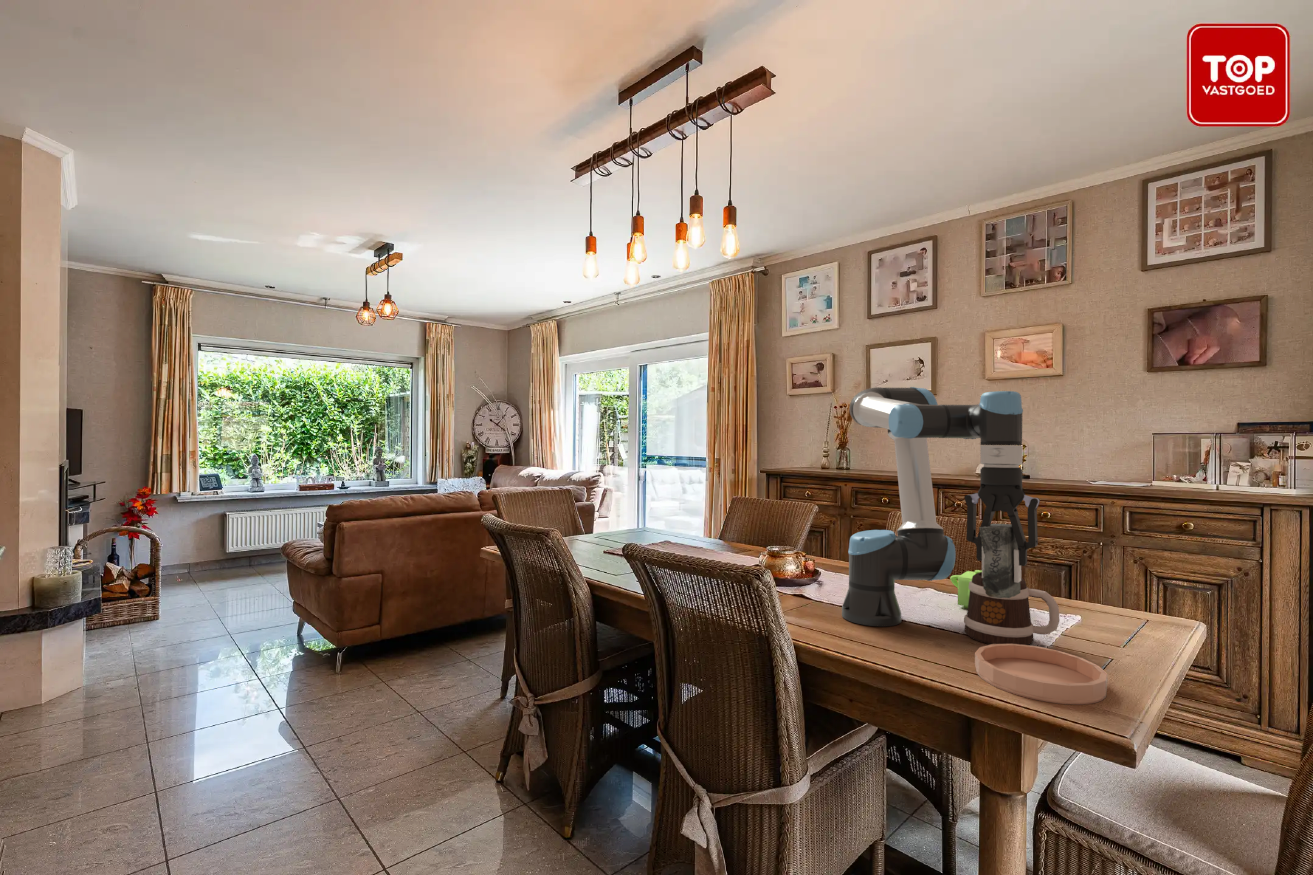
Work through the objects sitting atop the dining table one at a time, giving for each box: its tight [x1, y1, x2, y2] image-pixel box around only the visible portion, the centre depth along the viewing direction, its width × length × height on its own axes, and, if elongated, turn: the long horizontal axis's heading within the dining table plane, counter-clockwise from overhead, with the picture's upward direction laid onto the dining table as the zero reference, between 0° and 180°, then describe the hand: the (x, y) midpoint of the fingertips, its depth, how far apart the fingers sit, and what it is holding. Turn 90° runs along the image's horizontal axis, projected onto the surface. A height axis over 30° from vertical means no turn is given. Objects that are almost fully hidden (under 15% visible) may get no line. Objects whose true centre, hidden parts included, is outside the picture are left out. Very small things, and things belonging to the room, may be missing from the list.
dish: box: [974, 644, 1108, 706], centre depth 121 cm, size 22×22×4 cm
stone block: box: [978, 523, 1020, 598], centre depth 124 cm, size 9×14×5 cm
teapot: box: [949, 569, 982, 609], centre depth 173 cm, size 15×13×11 cm
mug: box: [963, 572, 1060, 646], centre depth 145 cm, size 20×15×15 cm
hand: (1001, 578), depth 124 cm, fingers closed on stone block, 5 cm apart
